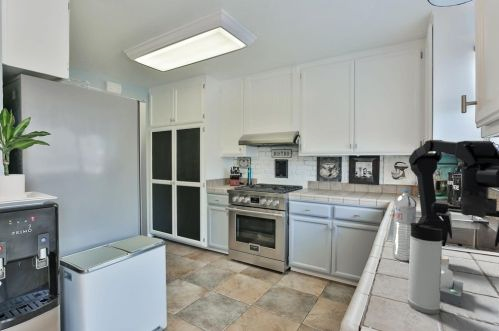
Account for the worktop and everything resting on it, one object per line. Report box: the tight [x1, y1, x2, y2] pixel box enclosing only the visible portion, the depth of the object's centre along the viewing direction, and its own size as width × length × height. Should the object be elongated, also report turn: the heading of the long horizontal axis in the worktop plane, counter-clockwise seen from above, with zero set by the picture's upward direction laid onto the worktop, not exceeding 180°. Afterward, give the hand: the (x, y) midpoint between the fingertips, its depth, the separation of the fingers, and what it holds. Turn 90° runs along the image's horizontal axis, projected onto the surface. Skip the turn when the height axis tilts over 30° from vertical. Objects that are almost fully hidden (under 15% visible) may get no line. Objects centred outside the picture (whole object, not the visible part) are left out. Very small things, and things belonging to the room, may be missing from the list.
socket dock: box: [440, 279, 464, 308], centre depth 68 cm, size 10×9×3 cm
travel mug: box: [407, 222, 443, 315], centre depth 61 cm, size 6×7×20 cm
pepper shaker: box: [440, 254, 454, 289], centre depth 69 cm, size 4×4×10 cm
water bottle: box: [392, 189, 418, 262], centre depth 93 cm, size 7×7×25 cm
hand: (472, 242), depth 71 cm, fingers open, 9 cm apart
